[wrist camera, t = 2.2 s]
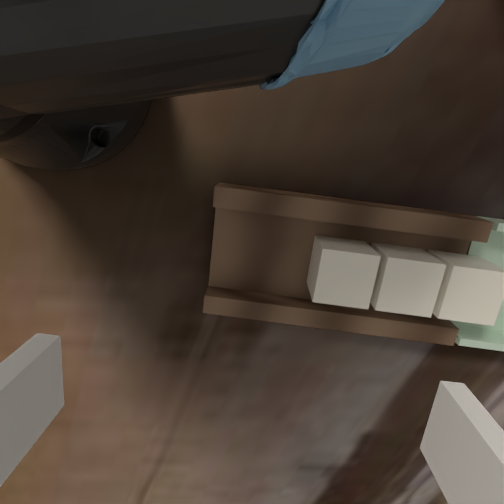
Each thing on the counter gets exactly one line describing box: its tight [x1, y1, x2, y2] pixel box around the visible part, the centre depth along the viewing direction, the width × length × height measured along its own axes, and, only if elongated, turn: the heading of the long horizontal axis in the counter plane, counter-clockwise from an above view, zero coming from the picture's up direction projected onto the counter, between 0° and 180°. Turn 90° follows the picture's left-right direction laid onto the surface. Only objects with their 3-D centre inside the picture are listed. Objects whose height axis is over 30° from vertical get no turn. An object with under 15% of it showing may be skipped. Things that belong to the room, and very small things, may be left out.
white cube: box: [370, 242, 446, 318], centre depth 27 cm, size 4×4×4 cm
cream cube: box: [428, 250, 504, 326], centre depth 27 cm, size 4×4×4 cm
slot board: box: [203, 182, 493, 346], centre depth 28 cm, size 20×10×3 cm, turn 83°
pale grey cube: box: [307, 235, 381, 309], centre depth 27 cm, size 4×4×4 cm
